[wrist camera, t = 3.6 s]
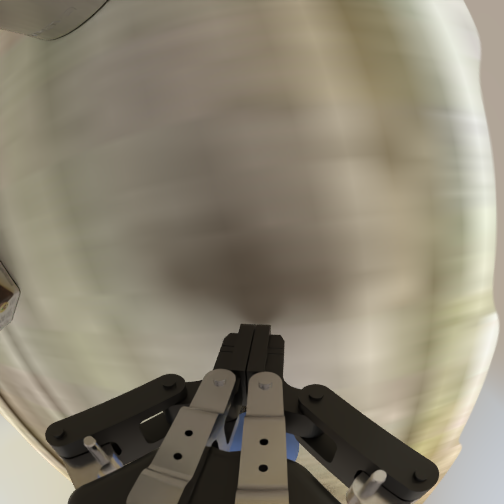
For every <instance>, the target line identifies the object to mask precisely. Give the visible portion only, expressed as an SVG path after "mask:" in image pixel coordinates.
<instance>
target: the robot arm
mask: <svg viewBox="0 0 504 504" xmlns="http://www.w3.org/2000/svg"><path fill="white" fill-rule="evenodd" d="M106 1H107V0H0V29H2V30H7V31H11V32H15V33H20V34H24V35H27V36H31V37H35V38H39V39H42V40H52V39H57V38H59V37H61V36H63V35H66V34H67V33H69V32H70V31H72V30H74V29H75V28H77V27H78V26H79V25H81V24H82V23H83V22H84V21H86V20H87V19H88V18H89V17H90V16H91V15H93V14H94V13H95V12H96V11H97V10H98V9H99V8H100V7H101V6H102V5H103V4H104V3H105V2H106ZM283 365H284V340H283V338H282V337H281V335H271V325H253V324H241V325H240V329H239V332H238V333H230V334H229V335H228V336H226V337H225V338H224V340H223V343H222V347H221V349H220V352H219V355H218V357H217V360H216V363H215V366H214V369H213V370H212V371H210V372H208V373H207V374H206V375H205V376H204V378H203V380H200V381H194V382H185V380H184V379H183V378H182V377H181V376H179V375H176V374H166V375H163V376H161V377H159V378H157V379H154V380H152V381H150V382H148V383H146V384H144V385H142V386H140V387H138V388H135V389H133V390H131V391H129V392H127V393H125V394H122V395H120V396H118V397H116V398H113V399H111V400H109V401H106V402H104V403H102V404H99V405H97V406H95V407H92V408H90V409H88V410H85V411H83V412H80V413H78V414H75V415H73V416H70V417H68V418H65V419H63V420H60V421H57V422H55V423H53V424H51V425H50V426H49V427H48V428H47V430H46V433H45V437H46V440H47V442H48V443H49V444H50V445H51V446H52V448H53V449H54V450H55V451H56V453H57V454H58V456H59V457H60V458H61V459H62V460H63V462H64V465H65V467H66V469H67V472H68V474H69V476H70V478H71V481H72V483H73V485H74V487H75V489H76V490H75V491H74V492H73V493H72V495H71V496H70V498H69V501H68V504H341V503H340V502H339V501H338V500H337V499H336V498H335V497H334V496H333V495H332V494H331V493H330V492H329V491H328V490H327V489H325V488H324V487H323V485H322V484H321V483H320V482H319V481H318V480H317V479H316V478H315V477H314V476H313V475H312V474H311V473H310V472H309V471H308V470H307V469H306V468H304V467H303V466H302V465H300V464H299V463H297V462H295V461H293V460H290V459H287V451H286V433H289V434H293V435H294V436H295V438H296V440H297V441H298V442H299V443H300V444H301V445H302V446H303V447H304V448H305V449H306V450H307V451H308V452H309V453H310V454H311V455H313V456H314V457H315V458H316V459H317V460H318V461H319V462H320V463H321V464H322V465H323V466H324V467H325V468H327V469H328V470H329V471H330V472H331V473H332V474H333V475H334V476H336V477H337V478H338V479H339V480H340V481H341V482H342V483H344V484H345V485H346V486H347V487H348V488H349V489H348V491H347V493H346V501H347V503H348V504H414V503H415V502H416V501H417V500H419V499H420V498H421V497H422V496H423V495H424V494H425V493H426V492H428V491H429V490H430V489H431V488H432V487H433V486H434V485H435V484H436V482H437V481H438V478H439V470H438V468H437V466H436V465H435V464H434V463H433V462H432V461H430V460H429V459H427V458H425V457H424V456H422V455H421V454H419V453H418V452H416V451H415V450H413V449H412V448H410V447H409V446H407V445H406V444H404V443H403V442H401V441H400V440H399V439H397V438H396V437H394V436H393V435H391V434H390V433H388V432H387V431H386V430H384V429H383V428H381V427H380V426H379V425H377V424H376V423H374V422H373V421H372V420H370V419H369V418H368V417H366V416H365V415H363V414H362V413H361V412H359V411H358V410H357V409H355V408H354V407H353V406H351V405H350V404H349V403H347V402H346V401H345V400H343V399H342V398H341V397H339V396H338V395H337V394H335V393H334V392H333V391H332V390H330V389H329V388H327V387H326V386H323V385H319V384H313V385H308V386H306V387H304V388H303V389H302V390H301V389H297V388H294V387H291V386H290V385H288V384H287V383H286V382H285V381H284V379H283ZM241 406H247V409H246V416H244V425H243V436H242V446H241V451H231V452H230V447H231V444H232V441H233V438H234V435H235V432H236V429H237V426H238V422H239V419H240V415H239V414H240V411H241ZM161 411H163V413H161V414H159V415H157V416H155V417H153V418H151V419H150V420H148V421H146V422H144V423H141V422H142V421H144V420H146V419H148V418H150V417H152V416H153V415H155V414H157V413H159V412H161ZM140 423H141V424H140ZM132 461H133V462H132ZM130 462H131V463H130ZM128 463H129V464H128ZM126 464H127V465H126ZM124 465H125V466H124Z"/></svg>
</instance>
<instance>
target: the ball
mask: <svg viewBox="0 0 504 504" xmlns="http://www.w3.org/2000/svg"><path fill="white" fill-rule="evenodd" d="M239 415H240V419H239V422H238V426H237V429H236V432H235V435H234V438H233V441H232V444H231V447H230V452H231V451H241V446H242V436H243V425H244V416H246V412H244V413H241V414H239ZM286 451H287V459H290V460H293V461H295V460H296V458H297V456H298V452H299V442H298V441H297V440H296V438H295V436H294V435H293V434H289V433H286Z"/></svg>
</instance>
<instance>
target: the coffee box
mask: <svg viewBox="0 0 504 504" xmlns="http://www.w3.org/2000/svg"><path fill="white" fill-rule="evenodd" d="M19 294H20V291H19V289H18V287H17V286H16V285H15V283H14V282H13V280H12V279H11V277H10V276H9V274H8V273H7V271H6V270H5V268H4V267H3V265H2V263H1V262H0V330H1V329H3V328H4V327H5V326H7V325H8V324H9V323H10V322H11V321H12V317H13V314H14V310H15V307H16V304H17V301H18V298H19Z"/></svg>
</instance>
